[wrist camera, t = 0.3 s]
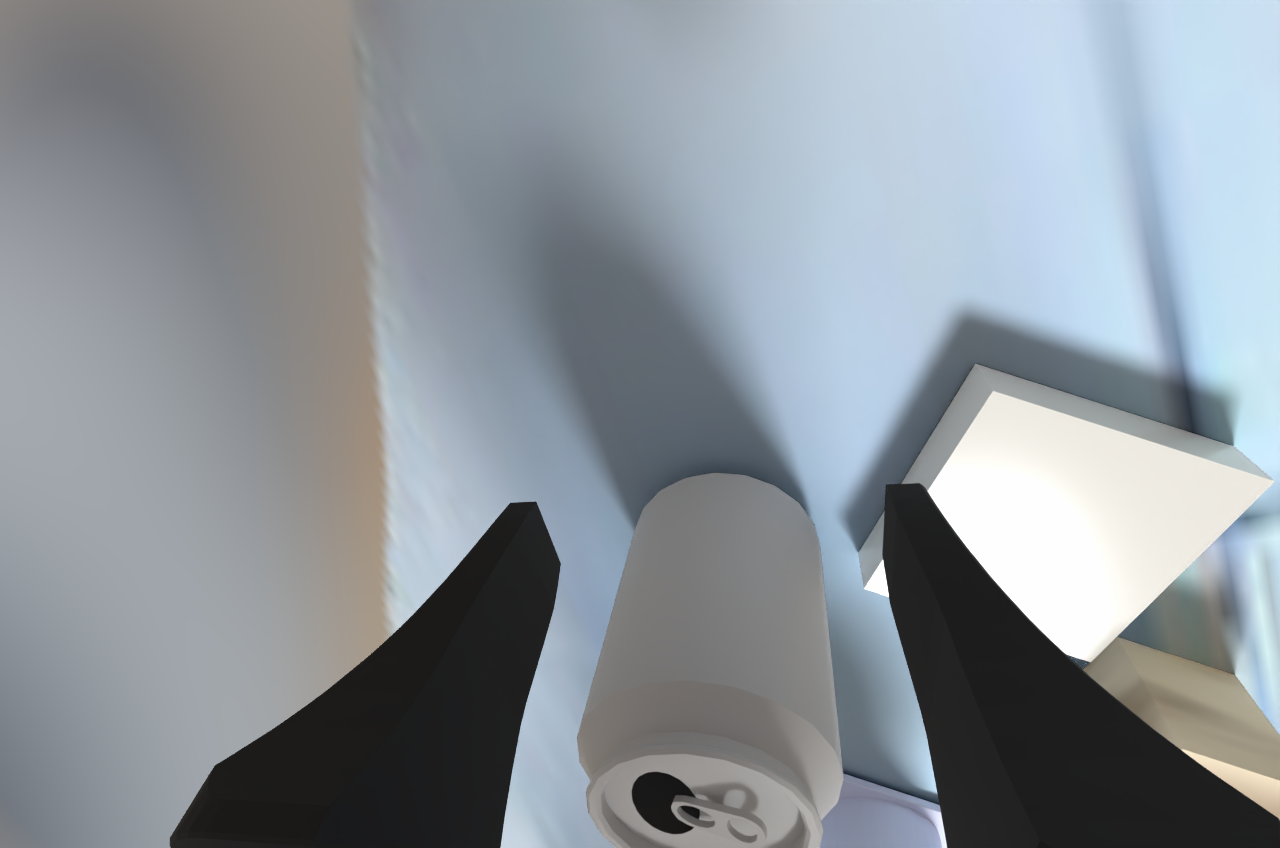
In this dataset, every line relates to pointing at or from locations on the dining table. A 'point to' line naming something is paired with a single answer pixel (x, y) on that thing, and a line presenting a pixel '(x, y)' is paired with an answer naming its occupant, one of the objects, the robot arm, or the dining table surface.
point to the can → (715, 677)
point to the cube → (1197, 714)
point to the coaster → (1073, 503)
